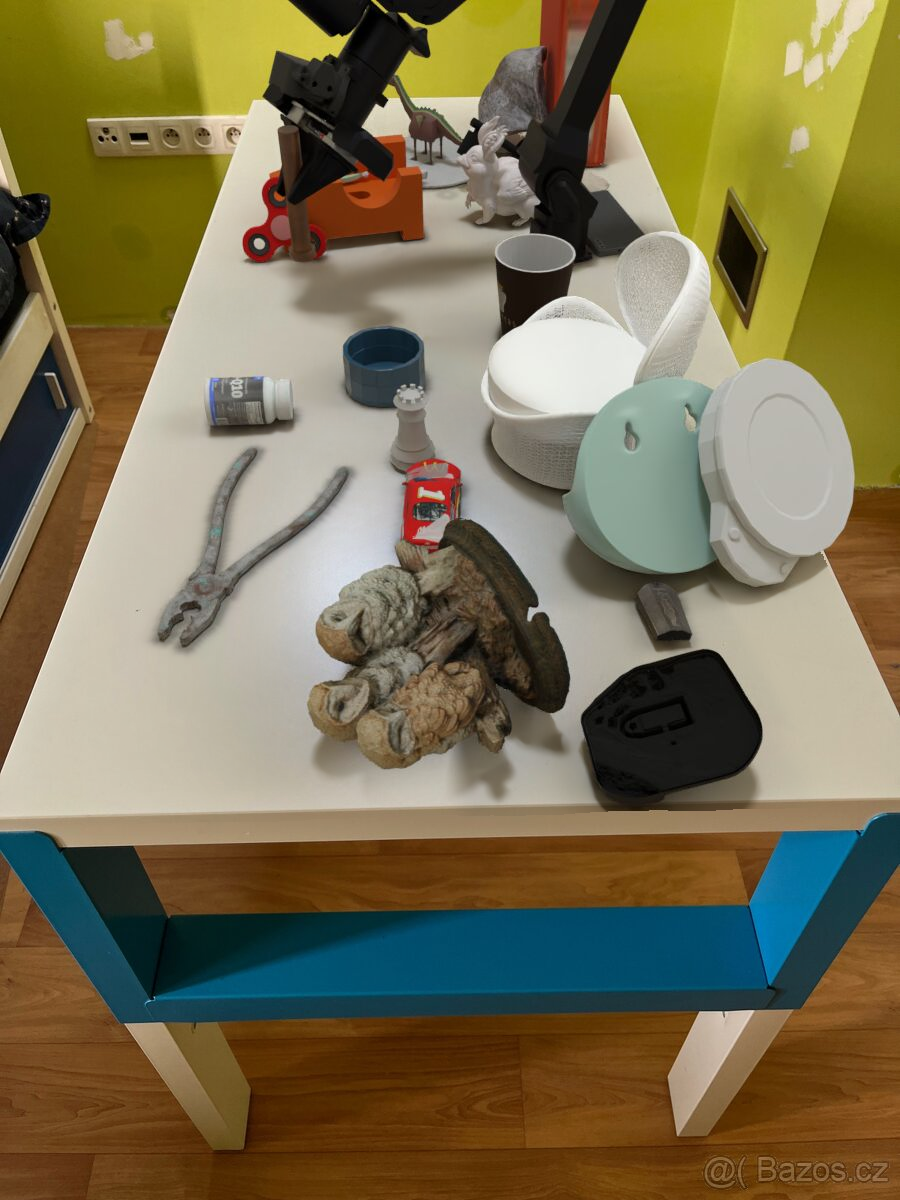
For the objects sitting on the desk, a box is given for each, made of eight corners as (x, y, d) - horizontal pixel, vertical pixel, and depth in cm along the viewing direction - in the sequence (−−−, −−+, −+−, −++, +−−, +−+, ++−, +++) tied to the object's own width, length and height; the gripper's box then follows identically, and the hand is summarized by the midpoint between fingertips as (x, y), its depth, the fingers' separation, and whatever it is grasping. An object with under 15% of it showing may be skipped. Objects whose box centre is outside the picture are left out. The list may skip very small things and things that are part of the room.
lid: (664, 533, 79) (692, 526, 76) (718, 330, 85) (746, 318, 83) (800, 623, 87) (830, 620, 84) (840, 431, 93) (869, 422, 90)
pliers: (250, 450, 98) (114, 626, 82) (249, 444, 98) (111, 620, 81) (351, 472, 96) (232, 658, 79) (350, 465, 95) (230, 651, 79)
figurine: (449, 209, 134) (449, 111, 125) (553, 195, 137) (560, 98, 128) (466, 236, 129) (467, 135, 120) (574, 221, 132) (583, 122, 122)
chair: (480, 380, 106) (484, 196, 91) (666, 383, 105) (700, 198, 91) (478, 502, 92) (482, 308, 78) (692, 506, 92) (736, 311, 77)
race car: (408, 474, 95) (406, 440, 93) (464, 475, 95) (464, 442, 92) (394, 569, 86) (392, 535, 83) (457, 571, 86) (457, 537, 83)
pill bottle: (205, 368, 99) (290, 366, 100) (213, 407, 103) (294, 404, 103) (201, 396, 96) (288, 393, 97) (209, 435, 100) (293, 432, 100)
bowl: (404, 355, 110) (403, 318, 106) (438, 394, 105) (437, 357, 101) (334, 374, 107) (330, 338, 104) (365, 415, 102) (362, 378, 99)
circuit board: (462, 139, 147) (460, 148, 148) (512, 158, 146) (510, 167, 147) (481, 116, 151) (479, 124, 152) (529, 134, 151) (527, 142, 152)
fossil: (454, 138, 148) (509, 172, 151) (479, 135, 135) (539, 172, 139) (501, 36, 144) (557, 73, 148) (532, 23, 131) (592, 65, 135)
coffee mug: (563, 360, 109) (570, 276, 102) (486, 352, 110) (488, 268, 103) (575, 306, 117) (583, 225, 110) (503, 299, 118) (506, 218, 111)
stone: (618, 176, 136) (617, 190, 138) (548, 145, 144) (548, 158, 145) (576, 197, 133) (576, 212, 135) (508, 164, 141) (508, 178, 142)
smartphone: (557, 202, 135) (598, 256, 125) (557, 196, 134) (598, 250, 125) (607, 195, 136) (651, 248, 127) (608, 189, 135) (652, 242, 126)
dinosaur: (342, 168, 143) (335, 88, 136) (415, 128, 154) (413, 51, 146) (443, 199, 136) (442, 116, 128) (513, 154, 147) (516, 76, 139)
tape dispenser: (404, 196, 137) (401, 134, 131) (423, 238, 128) (422, 173, 122) (274, 210, 134) (265, 147, 128) (285, 253, 126) (276, 188, 120)
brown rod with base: (310, 247, 114) (296, 121, 104) (320, 258, 112) (306, 131, 102) (285, 253, 113) (269, 126, 103) (295, 264, 112) (279, 136, 101)
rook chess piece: (442, 451, 98) (441, 383, 92) (426, 479, 95) (424, 409, 89) (400, 442, 99) (396, 374, 93) (383, 469, 96) (378, 400, 90)
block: (653, 648, 80) (656, 633, 78) (630, 596, 84) (633, 580, 82) (696, 642, 80) (700, 627, 79) (671, 590, 84) (675, 575, 83)
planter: (729, 541, 94) (683, 374, 92) (783, 536, 87) (735, 355, 85) (565, 604, 87) (512, 423, 85) (611, 603, 80) (554, 407, 78)
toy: (245, 261, 125) (244, 263, 124) (234, 177, 119) (233, 179, 119) (328, 258, 125) (327, 260, 124) (320, 174, 120) (320, 175, 119)
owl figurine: (596, 667, 65) (367, 787, 60) (570, 742, 75) (371, 850, 70) (457, 481, 73) (244, 572, 68) (449, 571, 83) (263, 656, 78)
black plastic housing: (777, 762, 66) (776, 788, 70) (729, 639, 72) (730, 670, 76) (604, 809, 68) (612, 831, 72) (569, 684, 73) (579, 712, 77)
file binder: (548, 167, 143) (566, -98, 120) (533, 121, 155) (547, -128, 132) (603, 166, 144) (631, -99, 121) (585, 120, 156) (607, -129, 132)
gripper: (266, -6, 103) (189, 128, 106) (361, 43, 92) (271, 190, 96) (338, 61, 111) (264, 183, 115) (432, 112, 101) (348, 245, 104)
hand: (284, 198), depth 107 cm, fingers closed on brown rod with base, 2 cm apart
